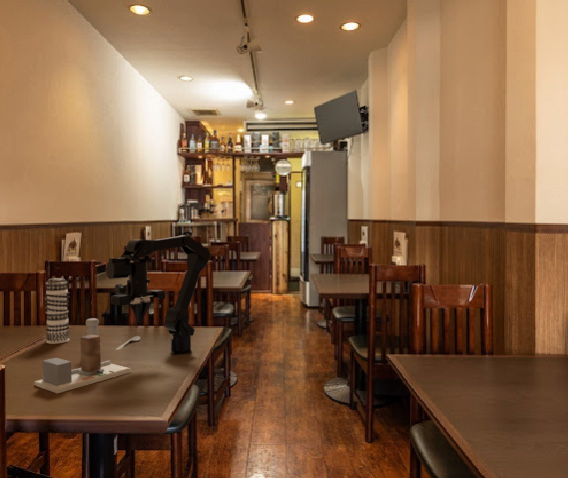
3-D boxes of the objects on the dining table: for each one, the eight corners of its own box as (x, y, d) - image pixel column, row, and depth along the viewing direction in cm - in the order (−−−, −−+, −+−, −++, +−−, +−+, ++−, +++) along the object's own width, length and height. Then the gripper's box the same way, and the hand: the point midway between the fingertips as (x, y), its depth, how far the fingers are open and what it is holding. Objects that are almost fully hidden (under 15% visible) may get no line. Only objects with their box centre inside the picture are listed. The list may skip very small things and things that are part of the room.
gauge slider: (92, 368, 157) (92, 333, 157) (109, 373, 152) (108, 337, 152) (77, 372, 153) (77, 336, 153) (94, 377, 148) (93, 340, 148)
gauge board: (107, 366, 165) (107, 344, 165) (130, 372, 158) (130, 349, 157) (34, 385, 146) (34, 360, 145) (57, 393, 138) (56, 367, 138)
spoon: (143, 339, 204) (142, 335, 204) (118, 352, 184) (118, 348, 184) (133, 339, 205) (133, 335, 205) (107, 352, 184) (107, 348, 184)
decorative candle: (73, 341, 200) (71, 278, 199) (47, 345, 195) (46, 280, 194) (68, 337, 207) (66, 276, 207) (43, 340, 202) (42, 278, 202)
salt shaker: (95, 357, 175) (94, 320, 175) (80, 357, 176) (79, 320, 176) (104, 353, 181) (104, 317, 180) (90, 353, 182) (89, 317, 182)
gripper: (145, 273, 182) (146, 316, 183) (99, 277, 167) (100, 324, 168) (166, 274, 176) (167, 319, 176) (120, 279, 161) (121, 328, 161)
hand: (139, 322), depth 170 cm, fingers closed
